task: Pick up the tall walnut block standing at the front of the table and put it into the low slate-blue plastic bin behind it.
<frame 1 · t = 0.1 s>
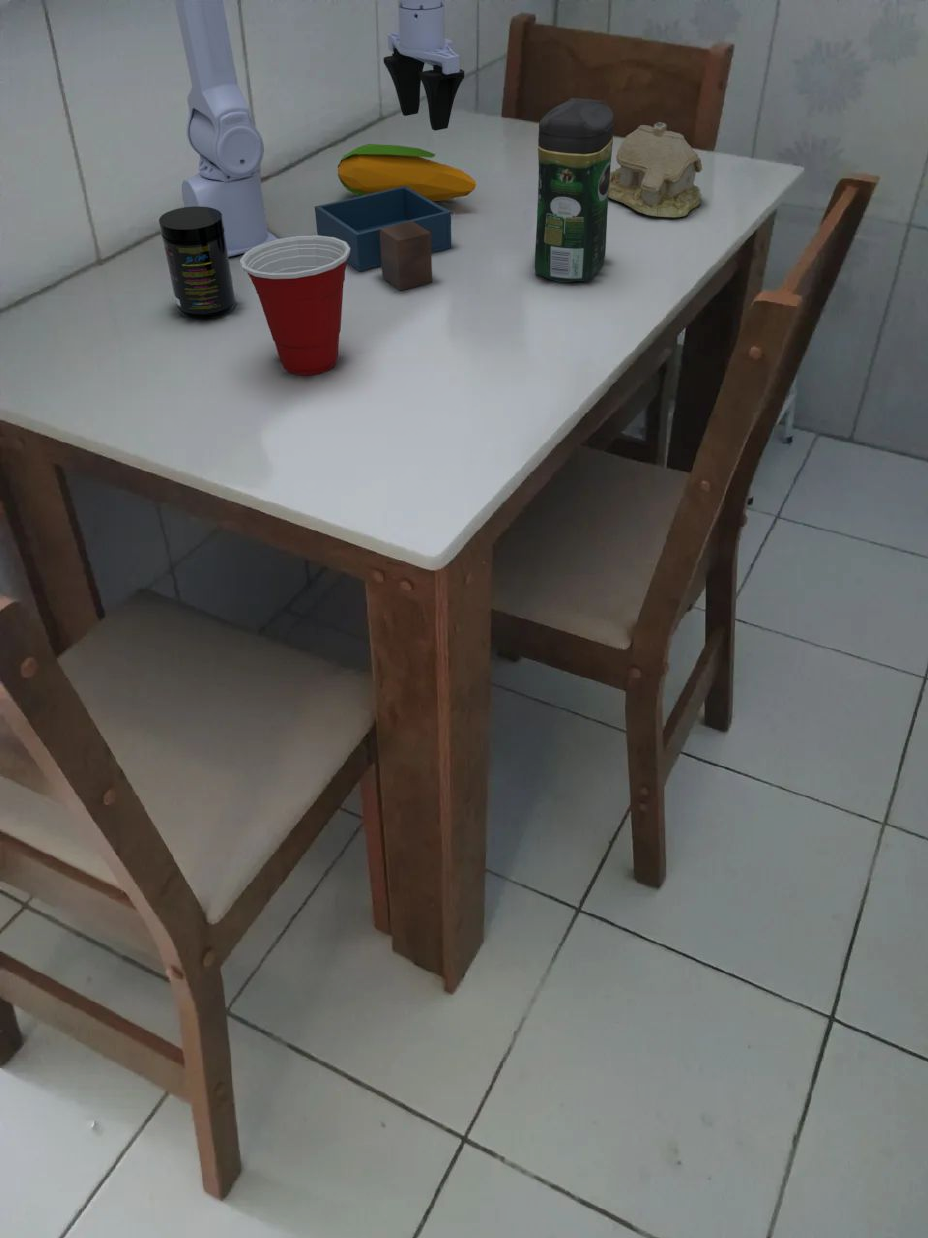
hand: (424, 121, 140), 10 cm above the table, tool pointing down, fingers open, 7 cm apart
bin: (384, 244, 135), on the table
coffee jar: (568, 270, 129), on the table
supplement container: (207, 310, 121), on the table
plastic cup: (308, 363, 112), on the table
ceramic model: (651, 201, 146), on the table
corn: (408, 203, 146), on the table
block: (407, 280, 127), on the table
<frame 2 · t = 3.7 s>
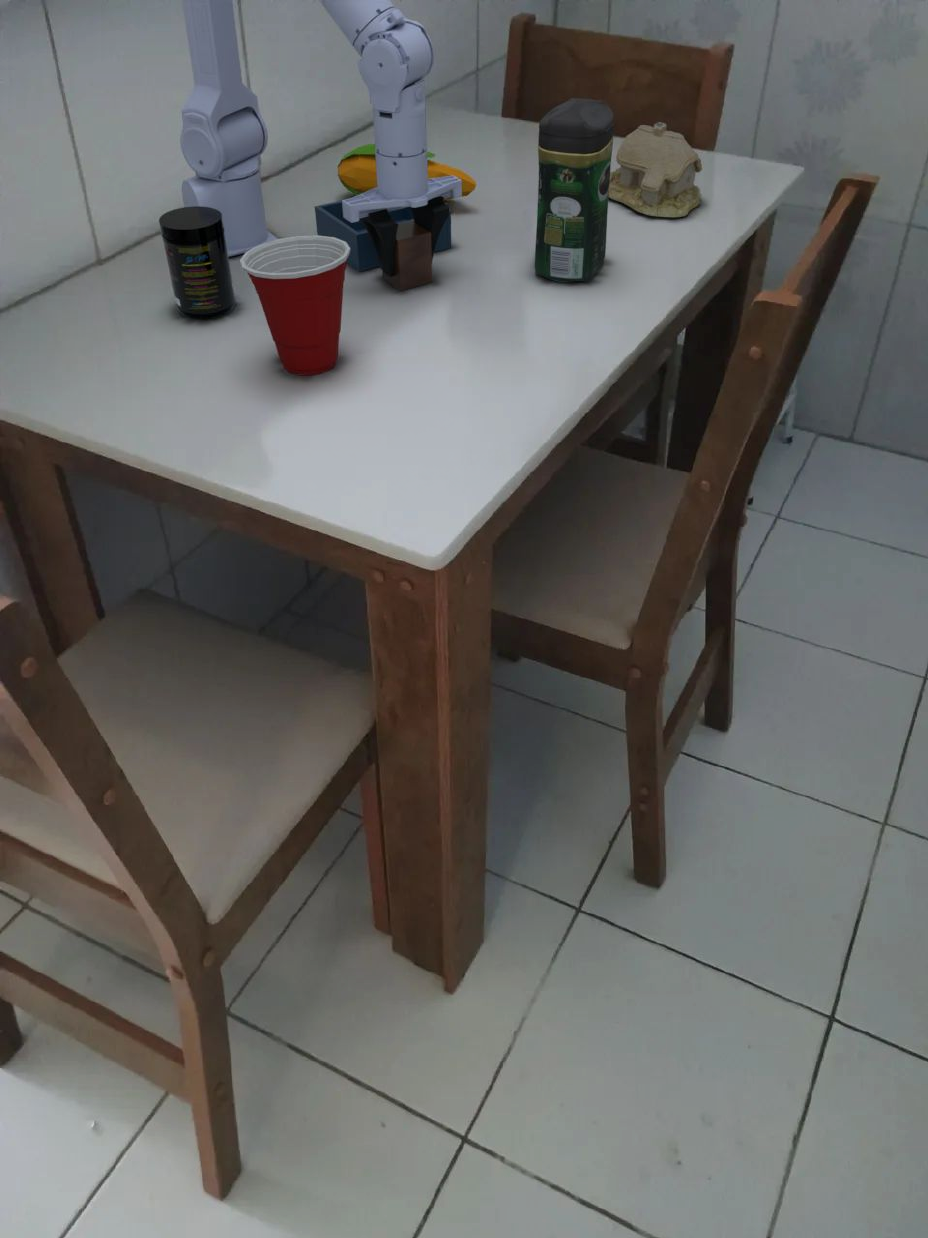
hand: (406, 268, 126), 1 cm above the table, tool pointing down, fingers closed on block, 4 cm apart
block: (407, 280, 127), on the table, touching gripper
everything else where it was.
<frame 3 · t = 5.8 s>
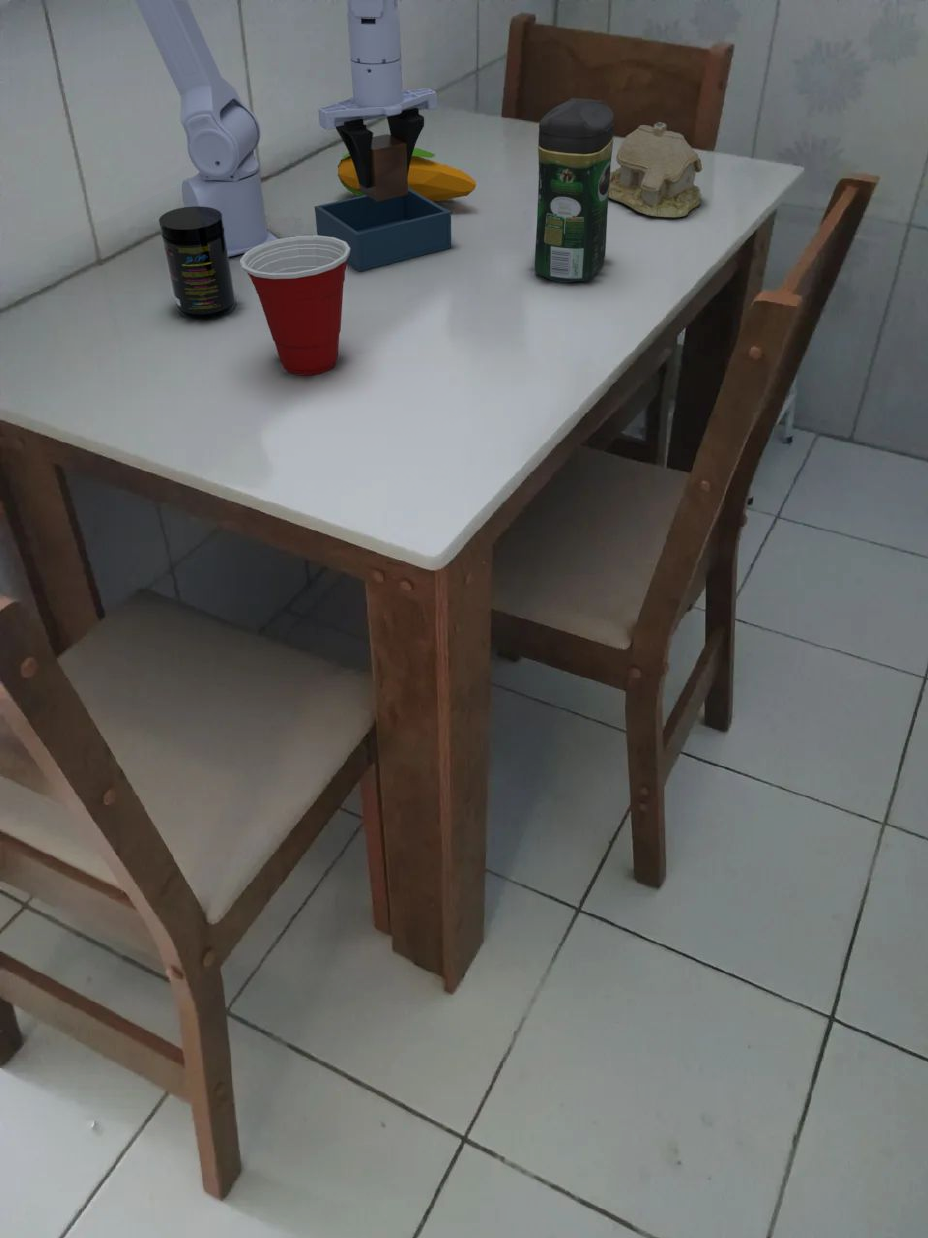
hand: (382, 181, 128), 8 cm above the table, tool pointing down, fingers closed on block, 4 cm apart
block: (383, 193, 129), point 7 cm above the table, touching gripper
everything else where it was.
when the fingers open (2 cm above the table, at t = 8.0 s): block stays where it is, resting on bin.
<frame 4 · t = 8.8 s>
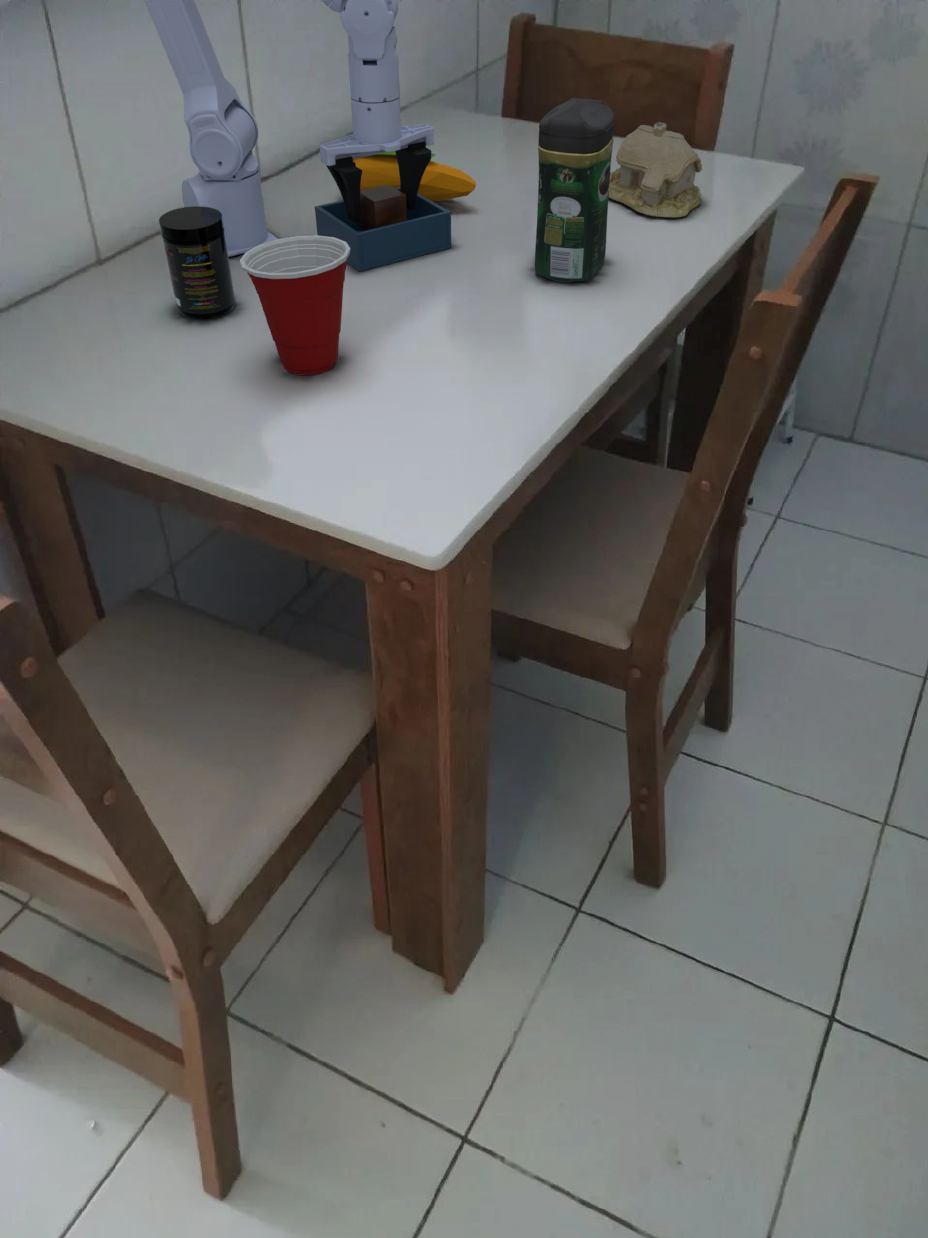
hand: (381, 213, 132), 4 cm above the table, tool pointing down, fingers open, 7 cm apart
block: (384, 240, 135), resting on bin
everything else where it was.
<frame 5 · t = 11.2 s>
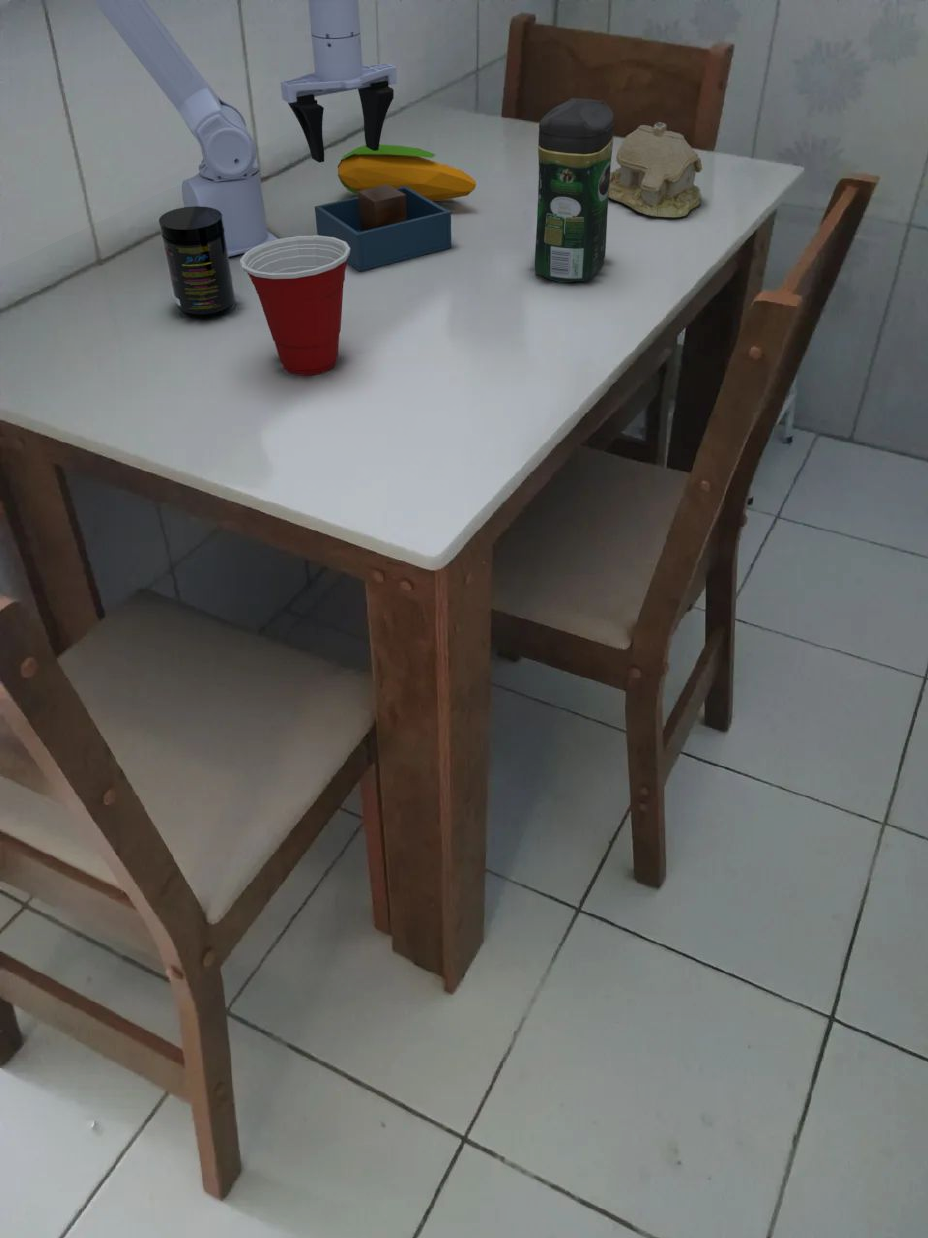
hand: (345, 154, 133), 9 cm above the table, tool pointing down, fingers open, 7 cm apart
nothing on the table moved.
at the end: block inside the target area in the bin (0.1 cm from its centre), point 0.5 cm above the bin's base; block tilted 0°; the gripper is holding nothing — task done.
